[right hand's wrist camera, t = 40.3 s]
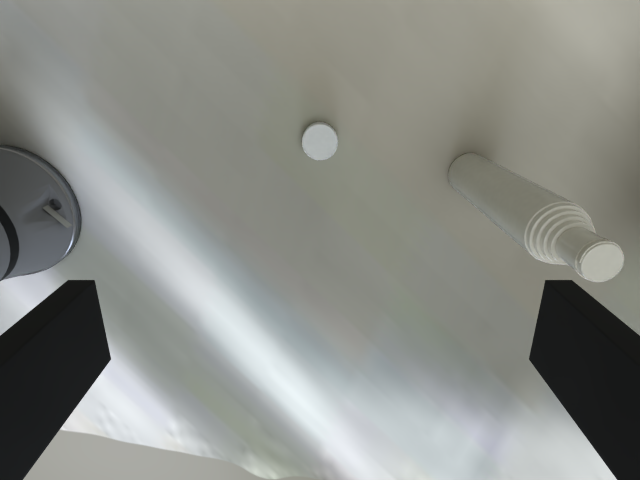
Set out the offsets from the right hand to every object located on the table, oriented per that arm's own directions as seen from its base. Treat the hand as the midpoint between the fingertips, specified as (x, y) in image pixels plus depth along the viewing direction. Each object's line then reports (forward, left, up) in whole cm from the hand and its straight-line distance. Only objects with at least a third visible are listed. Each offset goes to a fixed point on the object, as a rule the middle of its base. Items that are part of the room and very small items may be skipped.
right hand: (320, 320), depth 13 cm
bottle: (+16, +6, -38) cm, 42 cm away
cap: (0, 0, -36) cm, 36 cm away
